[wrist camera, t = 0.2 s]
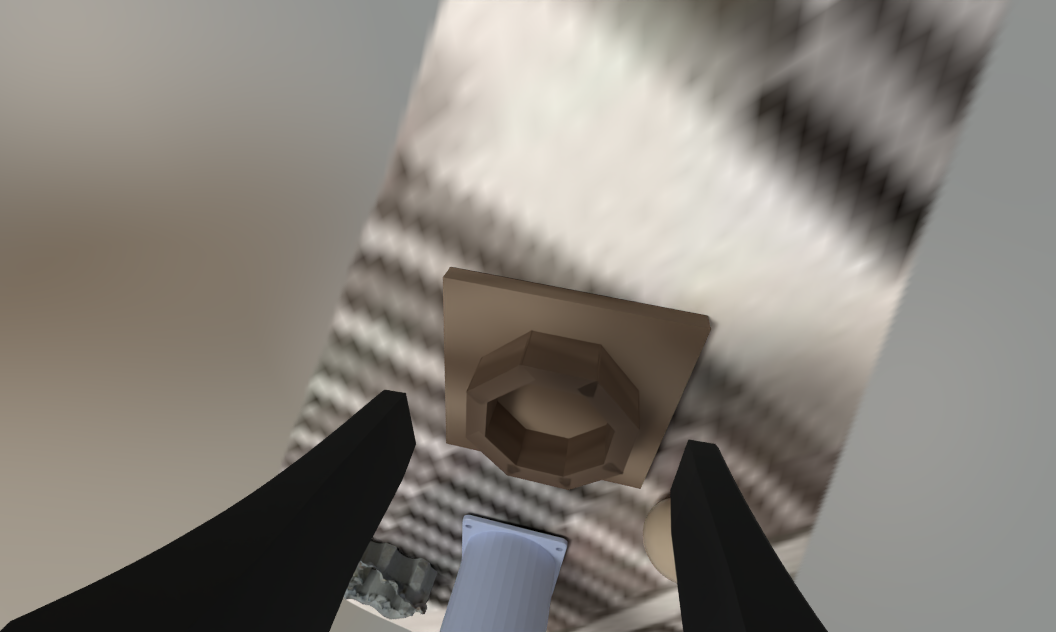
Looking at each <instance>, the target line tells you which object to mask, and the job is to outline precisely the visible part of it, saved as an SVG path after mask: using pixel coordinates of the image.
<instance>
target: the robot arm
mask: <svg viewBox="0 0 1056 632" xmlns="http://www.w3.org/2000/svg"><path fill="white" fill-rule="evenodd" d="M415 445H416V441H415V436H414V431H413V426H412V421H411V416H410V411H409V406H408V401H407V396H406V393H402V392H396V391H390V390H383V391H382V392H381V393H380V394H378V395H377V396H376V397H375V398H374V399H372V400H371V401H370V402H369V403H368V404H366V405H365V406H364V407H363V408H362V409H360V410H359V411H358V412H357V413H356V414H354V415H353V416H352V417H351V418H350V419H348V420H347V421H346V422H345V423H344V424H342V425H341V426H340V427H339V428H338V429H336V430H335V431H334V432H333V433H331V434H330V435H329V436H328V437H326V438H325V439H324V440H323V441H321V442H320V443H319V444H318V445H317V446H315V447H314V448H313V449H312V450H310V451H309V452H308V453H306V454H305V455H304V456H302V457H301V458H300V459H298V460H297V461H296V462H294V463H293V464H292V465H290V466H289V467H288V468H286V469H285V470H284V471H282V472H281V473H280V474H278V475H277V476H276V477H274V478H273V479H271V480H270V481H269V482H267V483H266V484H264V485H263V486H261V487H260V488H259V489H257V490H256V491H254V492H253V493H251V494H250V495H248V496H247V497H245V498H244V499H242V500H241V501H239V502H238V503H236V504H235V505H233V506H231V507H230V508H228V509H227V510H226V511H224V512H222V513H220V514H219V515H217V516H215V517H214V518H212V519H210V520H209V521H207V522H205V523H204V524H202V525H200V526H198V527H197V528H195V529H193V530H191V531H190V532H188V533H186V534H185V535H183V536H181V537H179V538H178V539H176V540H174V541H173V542H171V543H169V544H167V545H166V546H164V547H162V548H160V549H158V550H156V551H154V552H153V553H151V554H149V555H147V556H145V557H143V558H141V559H139V560H138V561H136V562H134V563H132V564H130V565H128V566H126V567H124V568H122V569H120V570H118V571H116V572H114V573H112V574H110V575H108V576H106V577H105V578H102V579H100V580H98V581H96V582H94V583H92V584H90V585H88V586H86V587H84V588H82V589H80V590H78V591H75V592H73V593H71V594H69V595H67V596H64V597H62V598H60V599H58V600H56V601H54V602H52V603H49V604H47V605H45V606H43V607H41V608H38V609H36V610H34V611H32V612H30V613H28V614H25V615H23V616H21V617H19V618H16V619H14V620H12V621H10V622H9V623H8V624H7V625H6V626H5V627H4V628H3V629H2V630H1V631H0V632H329V631H330V629H331V626H332V624H333V621H334V619H335V616H336V614H337V612H338V609H339V607H340V604H341V602H342V600H343V597H344V595H345V592H346V590H347V588H348V585H349V583H350V581H351V578H352V576H353V574H354V572H355V570H356V568H357V566H358V564H359V562H360V560H361V558H362V556H363V554H364V552H365V550H366V549H367V547H368V545H369V543H370V541H371V539H372V537H373V535H374V533H375V531H376V530H377V528H378V526H379V524H380V522H381V520H382V518H383V516H384V514H385V513H386V511H387V509H388V507H389V505H390V503H391V501H392V499H393V497H394V495H395V493H396V491H397V489H398V487H399V485H400V484H401V482H402V479H403V477H404V474H405V472H406V469H407V467H408V464H409V462H410V459H411V456H412V453H413V451H414V448H415ZM670 498H671V537H672V545H673V553H674V561H675V570H676V577H677V585H678V593H679V601H680V609H681V617H682V624H683V632H828V631H827V630H826V629H825V627H824V626H823V624H822V623H821V621H820V620H819V618H818V617H817V616H816V614H815V613H814V611H813V610H812V608H811V607H810V606H809V604H808V602H807V601H806V600H805V598H804V597H803V595H802V593H801V592H800V591H799V589H798V587H797V586H796V584H795V583H794V581H793V580H792V578H791V577H790V575H789V573H788V572H787V570H786V569H785V567H784V566H783V564H782V562H781V561H780V559H779V558H778V556H777V554H776V553H775V551H774V549H773V548H772V546H771V544H770V543H769V541H768V539H767V538H766V536H765V534H764V533H763V531H762V529H761V527H760V526H759V524H758V522H757V521H756V519H755V517H754V515H753V514H752V512H751V510H750V508H749V506H748V505H747V503H746V501H745V499H744V497H743V495H742V493H741V492H740V490H739V488H738V486H737V484H736V482H735V480H734V478H733V476H732V474H731V472H730V470H729V468H728V466H727V464H726V462H725V460H724V458H723V456H722V454H721V452H720V450H719V448H718V447H717V446H716V444H712V443H706V442H700V441H694V440H688V442H687V445H686V448H685V451H684V453H683V456H682V459H681V462H680V465H679V467H678V470H677V473H676V476H675V479H674V482H673V484H672V487H671V490H670ZM566 549H567V541H566V540H565V539H564V538H560V537H556V536H552V535H548V534H544V533H540V532H536V531H532V530H528V529H524V528H520V527H516V526H512V525H509V524H505V523H501V522H497V521H493V520H489V519H485V518H481V517H477V516H473V515H465V516H464V518H463V531H462V562H461V565H460V568H459V572H458V575H457V578H456V581H455V584H454V587H453V591H452V594H451V597H450V600H449V603H448V607H447V610H446V613H445V616H444V619H443V623H442V626H441V629H440V632H546V630H547V623H548V616H549V609H550V602H551V596H552V594H553V591H554V588H555V584H556V581H557V578H558V575H559V571H560V568H561V565H562V562H563V559H564V555H565V552H566Z"/></svg>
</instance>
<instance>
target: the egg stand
mask: <svg viewBox="0 0 1056 632" xmlns="http://www.w3.org/2000/svg"><path fill="white" fill-rule="evenodd" d="M443 306H444V354H445V403H446V443H447V444H451V445H456V446H460V447H464V448H469V449H473V450H477V451H481V452H482V453H483V454H484V455H485V456H487V457H488V458H489V459H490V460H491V461H492V462H493V463H494V464H495V465H496V466H498V467H499V468H500V469H501V470H502V471H503V472H504V473H505V474H506V475H507V476H512V477H517V478H521V479H525V480H529V481H533V482H538V483H542V484H546V485H550V486H554V487H558V488H563V489H567V490H569V489H573V488H576V487H579V486H583V485H586V484H590V483H593V482H597V481H600V480H605V481H609V482H614V483H618V484H622V485H626V486H631V487H635V488H639V489H641V486H642V484H643V482H644V480H645V477H646V475H647V473H648V470H649V468H650V466H651V464H652V461H653V459H654V457H655V455H656V452H657V450H658V448H659V446H660V443H661V441H662V439H663V437H664V434H665V432H666V430H667V428H668V425H669V423H670V421H671V418H672V416H673V414H674V412H675V409H676V407H677V405H678V403H679V400H680V398H681V396H682V394H683V391H684V389H685V387H686V385H687V382H688V380H689V378H690V376H691V373H692V371H693V369H694V366H695V364H696V362H697V360H698V357H699V355H700V353H701V351H702V348H703V346H704V344H705V342H706V339H707V337H708V335H709V333H710V330H711V327H710V323H709V319H708V316H706V315H700V314H695V313H690V312H685V311H679V310H674V309H669V308H664V307H658V306H653V305H648V304H643V303H637V302H632V301H627V300H622V299H616V298H611V297H606V296H601V295H595V294H590V293H585V292H580V291H574V290H569V289H564V288H558V287H553V286H548V285H543V284H537V283H532V282H527V281H522V280H516V279H511V278H506V277H501V276H495V275H490V274H485V273H480V272H474V271H469V270H464V269H459V268H453V267H450V268H449V270H448V271H447V272H446V274H445V275H444V276H443Z"/></svg>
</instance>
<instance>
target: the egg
mask: <svg viewBox="0 0 1056 632" xmlns="http://www.w3.org/2000/svg"><path fill="white" fill-rule="evenodd" d="M643 542H644V547H645V550H646V553H647V555H648V557H649V559H650V561H651V563H652V564H653V565H654V567H655V568H656V569H657V570H658V571H659V572H660V573H661V574H662V575H663V576H665V577H666V578H667V579H669V580H671V581H673V582H675V583H677V577H676V570H675V561H674V553H673V545H672V537H671V498H668V499H665V500H663V501H661V502H659V503H658V504H657V505H655V506H654V507H653V508H652V509H651V511H650V512H649V514H648V515H647V517H646V520H645V523H644V527H643Z"/></svg>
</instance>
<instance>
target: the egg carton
mask: <svg viewBox="0 0 1056 632" xmlns="http://www.w3.org/2000/svg"><path fill="white" fill-rule="evenodd" d="M372 567H375V568H376V570H377V571H376V570H374V569H371V568H372ZM437 573H438V572H437V571H436V570H434V569H433V568H432V567H431V565H430V562H428V561H426V560H424V559H422V558H419V559H411V558H408V557H405V556H403V555H402V554H400V553H399V552H398V550H397V547H396V546H393V545H390V544H388V543H383V544H379V543H375V542H372V541H370V543H369V545H368V547H367V549H366V550H365V552H364V554H363V556H362V558H361V560H360V562H359V564H358V566H357V568H356V570H355V572H354V574H353V576H352V578H351V581H350V583H349V585H348V588H347V590H346V592H345V595H344V599H354V600H357V601H358V602H360V603H362V604H365V605H370V606H372V607H373V608H375V609H376V610H377V611H378V612H379V613H380V614H382V615H383V616H384V617H386V618H389V619H399V618H406V617H408V616H413V614H414V613H415V612H420V613H421V614H425V612H426V610H427V605H426V603H427V601H428V600H429V598H428V597H429V595H430V592H431V589H432V587H433V584H434V581H435V578H436V575H437Z"/></svg>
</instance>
